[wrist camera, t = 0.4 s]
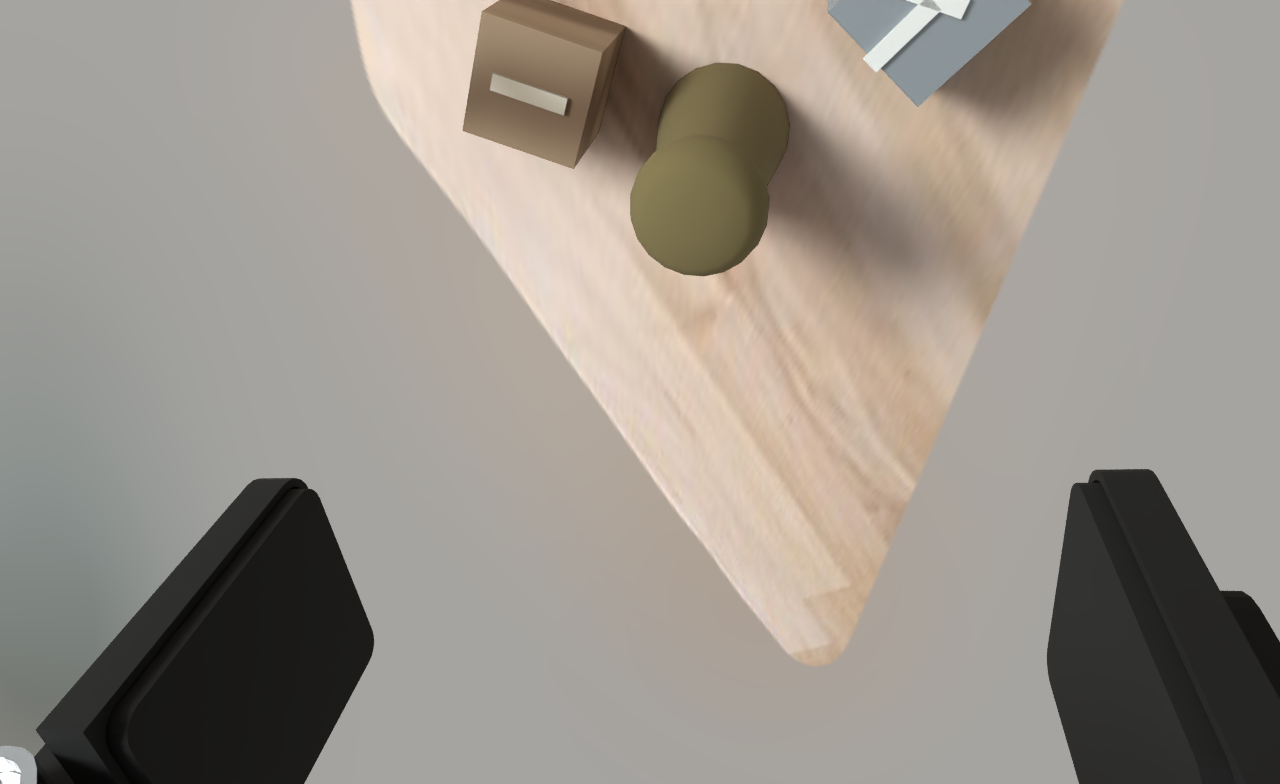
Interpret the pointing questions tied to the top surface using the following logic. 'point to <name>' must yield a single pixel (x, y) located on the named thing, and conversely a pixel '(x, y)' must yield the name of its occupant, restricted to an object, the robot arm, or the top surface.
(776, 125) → the cork
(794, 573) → the top surface
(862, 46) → the slate numeral block
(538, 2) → the walnut numeral block
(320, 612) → the robot arm
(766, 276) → the top surface
